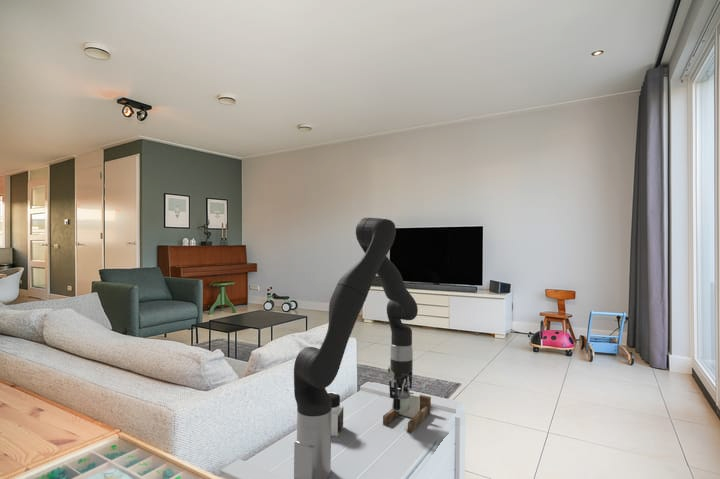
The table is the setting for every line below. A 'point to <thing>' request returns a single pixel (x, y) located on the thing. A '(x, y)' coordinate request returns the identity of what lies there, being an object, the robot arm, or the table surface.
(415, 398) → the pusher plate
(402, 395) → the jar
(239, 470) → the table surface
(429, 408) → the lane
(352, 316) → the robot arm
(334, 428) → the medicine bottle
